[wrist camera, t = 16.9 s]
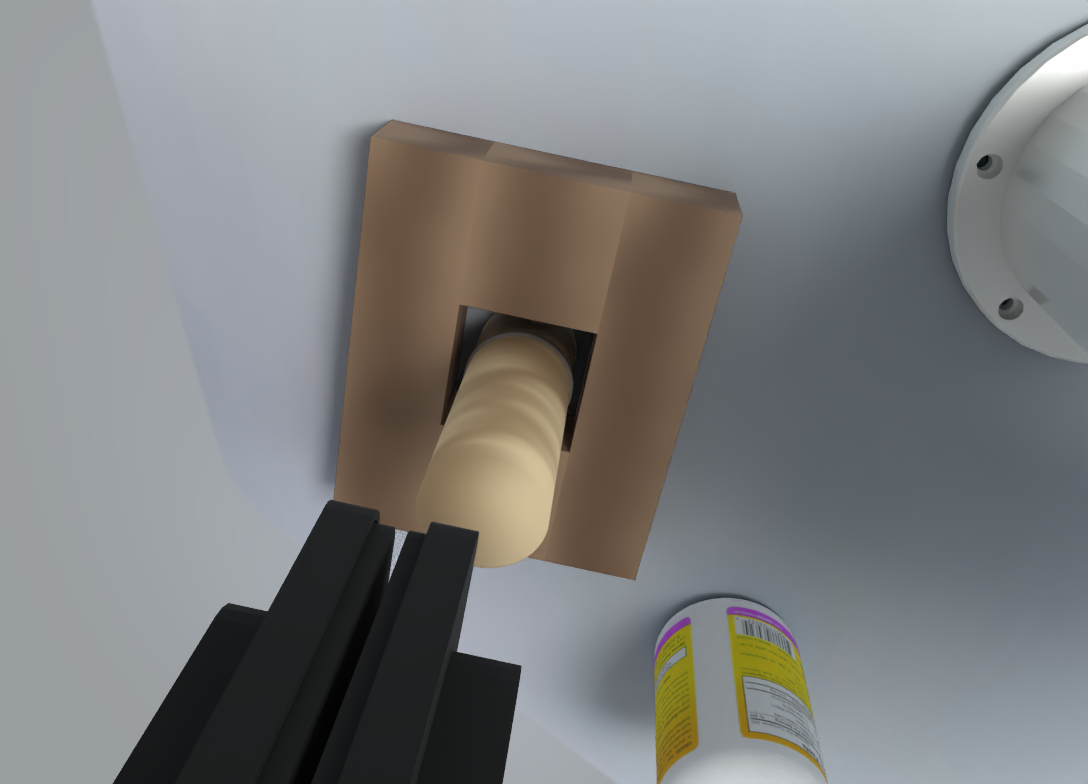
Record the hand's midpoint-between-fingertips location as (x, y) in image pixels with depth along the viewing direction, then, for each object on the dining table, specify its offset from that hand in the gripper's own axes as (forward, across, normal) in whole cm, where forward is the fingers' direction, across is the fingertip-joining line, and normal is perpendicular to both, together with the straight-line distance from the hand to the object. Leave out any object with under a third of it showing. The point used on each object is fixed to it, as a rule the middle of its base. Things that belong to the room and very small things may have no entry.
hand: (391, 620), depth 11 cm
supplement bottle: (+27, -12, +22) cm, 37 cm away
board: (+27, 0, +9) cm, 29 cm away
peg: (+27, 0, +9) cm, 29 cm away
